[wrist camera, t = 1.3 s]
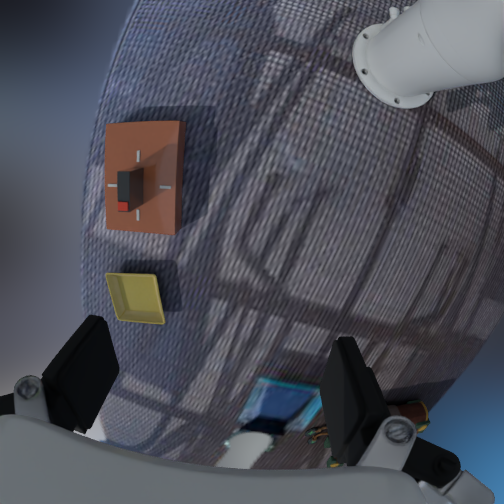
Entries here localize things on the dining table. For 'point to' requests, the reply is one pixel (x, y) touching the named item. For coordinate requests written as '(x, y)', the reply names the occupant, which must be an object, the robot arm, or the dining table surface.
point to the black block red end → (130, 189)
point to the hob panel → (146, 174)
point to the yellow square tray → (136, 297)
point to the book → (410, 410)
